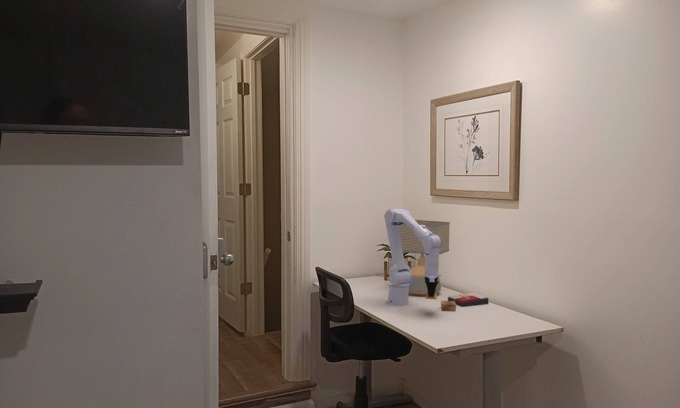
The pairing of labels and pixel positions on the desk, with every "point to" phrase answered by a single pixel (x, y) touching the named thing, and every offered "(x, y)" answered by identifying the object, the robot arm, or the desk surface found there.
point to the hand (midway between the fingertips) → (431, 295)
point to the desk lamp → (422, 252)
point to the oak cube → (434, 294)
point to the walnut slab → (448, 306)
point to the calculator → (468, 299)
